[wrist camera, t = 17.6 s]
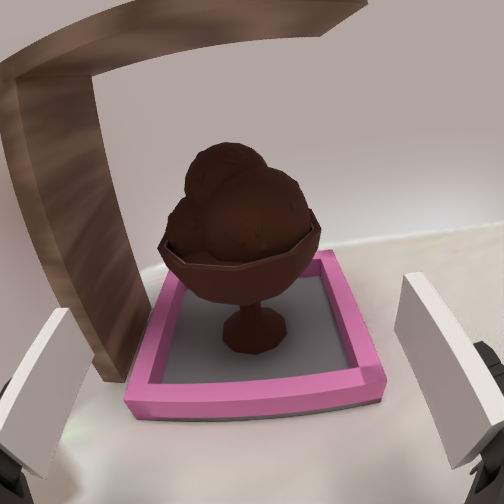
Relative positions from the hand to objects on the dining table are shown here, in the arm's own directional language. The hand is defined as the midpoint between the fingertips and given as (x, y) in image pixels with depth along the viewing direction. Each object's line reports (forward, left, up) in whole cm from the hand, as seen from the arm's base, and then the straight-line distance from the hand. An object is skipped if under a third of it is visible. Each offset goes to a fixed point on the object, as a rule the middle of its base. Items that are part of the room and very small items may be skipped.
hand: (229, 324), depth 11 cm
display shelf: (+2, -11, -11) cm, 16 cm away
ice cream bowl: (0, -11, -11) cm, 15 cm away
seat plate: (0, -11, -11) cm, 15 cm away
